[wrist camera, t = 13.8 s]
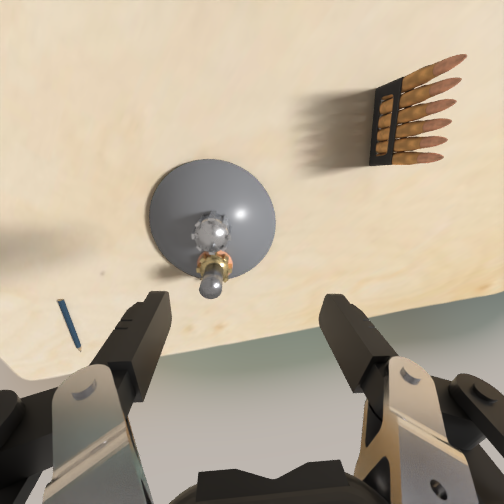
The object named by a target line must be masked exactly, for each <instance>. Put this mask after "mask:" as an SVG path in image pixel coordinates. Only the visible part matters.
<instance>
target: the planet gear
mask: <svg viewBox="0 0 504 504" xmlns="http://www.w3.org/2000/svg"><path fill="white" fill-rule="evenodd" d="M200 262H201V263H198V265H197V268H196V272H197V273H200V274H201V279H200V280H202V281H201V284H200V288H199V291H200V294H201V295H202V296H203V297H205V298H207V299H214V298H217V297H218V296H219V295H220V294H221V291H222V282H226V281H228V277H229V274H228V273H232V264H229V263H228V262H229V256H228V255H226V254H225V255H221V254H217V252H215V255H206V254H205V253H204V254H203V255H202V256H201V258H200Z"/></svg>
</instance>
